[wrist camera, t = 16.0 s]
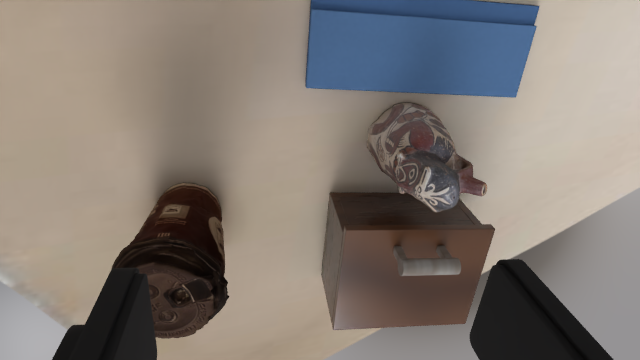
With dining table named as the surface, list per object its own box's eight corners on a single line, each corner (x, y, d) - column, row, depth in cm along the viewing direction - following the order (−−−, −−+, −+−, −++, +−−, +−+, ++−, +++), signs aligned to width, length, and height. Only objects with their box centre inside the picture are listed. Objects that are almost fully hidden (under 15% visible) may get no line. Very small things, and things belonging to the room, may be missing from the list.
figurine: (370, 102, 39) (413, 153, 28) (442, 100, 40) (511, 149, 29) (364, 171, 42) (402, 240, 31) (432, 168, 43) (490, 234, 32)
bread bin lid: (344, 225, 36) (353, 253, 32) (491, 224, 38) (515, 250, 34) (331, 323, 41) (338, 357, 37) (462, 318, 43) (480, 349, 39)
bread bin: (329, 192, 42) (342, 232, 36) (454, 193, 45) (488, 231, 38) (321, 274, 47) (331, 323, 41) (434, 271, 49) (461, 317, 43)
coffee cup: (245, 185, 41) (241, 271, 29) (225, 252, 44) (214, 353, 32) (152, 163, 38) (108, 247, 27) (138, 236, 42) (94, 338, 30)
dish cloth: (311, -14, 34) (313, -13, 33) (536, 5, 37) (542, 6, 36) (305, 85, 37) (306, 88, 36) (510, 95, 40) (515, 97, 39)
